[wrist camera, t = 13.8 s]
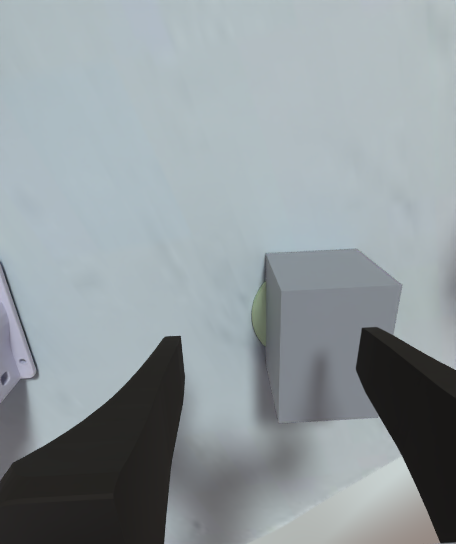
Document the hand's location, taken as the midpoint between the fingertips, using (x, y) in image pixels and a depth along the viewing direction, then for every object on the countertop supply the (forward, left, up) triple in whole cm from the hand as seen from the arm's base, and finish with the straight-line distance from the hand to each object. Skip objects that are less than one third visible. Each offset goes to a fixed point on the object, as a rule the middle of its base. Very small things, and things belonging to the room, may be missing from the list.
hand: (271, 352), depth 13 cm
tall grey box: (-3, -4, -9) cm, 11 cm away
